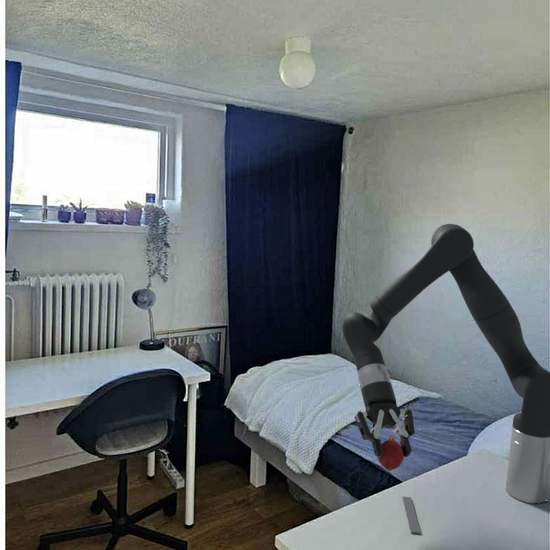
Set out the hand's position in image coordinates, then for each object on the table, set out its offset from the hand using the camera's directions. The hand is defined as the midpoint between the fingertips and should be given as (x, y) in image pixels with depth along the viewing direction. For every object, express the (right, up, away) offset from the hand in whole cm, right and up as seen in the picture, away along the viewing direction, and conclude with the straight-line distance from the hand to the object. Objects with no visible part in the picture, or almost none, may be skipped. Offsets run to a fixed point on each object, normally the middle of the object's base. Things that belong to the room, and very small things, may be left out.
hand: (394, 456), depth 109 cm
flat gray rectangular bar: (+5, -16, +5) cm, 17 cm away
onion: (-1, -4, +2) cm, 5 cm away
